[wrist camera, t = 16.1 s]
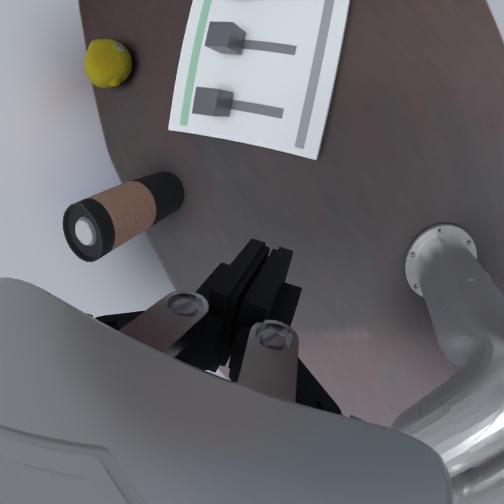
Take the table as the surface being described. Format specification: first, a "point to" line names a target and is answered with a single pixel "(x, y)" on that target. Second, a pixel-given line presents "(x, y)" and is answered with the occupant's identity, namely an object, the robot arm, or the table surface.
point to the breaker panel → (264, 72)
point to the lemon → (107, 63)
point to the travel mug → (120, 214)
